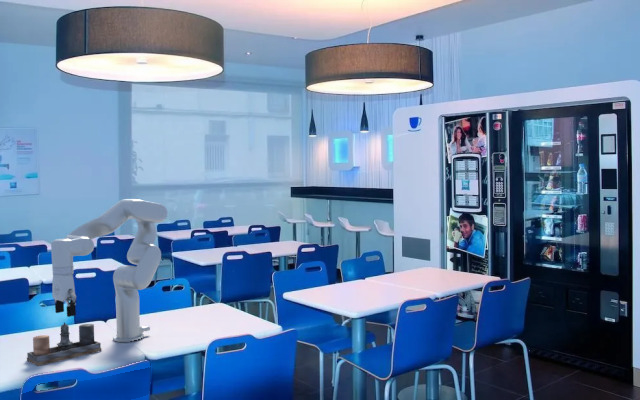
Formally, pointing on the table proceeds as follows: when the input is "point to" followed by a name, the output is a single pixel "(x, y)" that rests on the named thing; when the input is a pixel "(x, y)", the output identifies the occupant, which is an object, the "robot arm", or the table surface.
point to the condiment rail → (49, 355)
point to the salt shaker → (65, 338)
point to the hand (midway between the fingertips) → (65, 314)
